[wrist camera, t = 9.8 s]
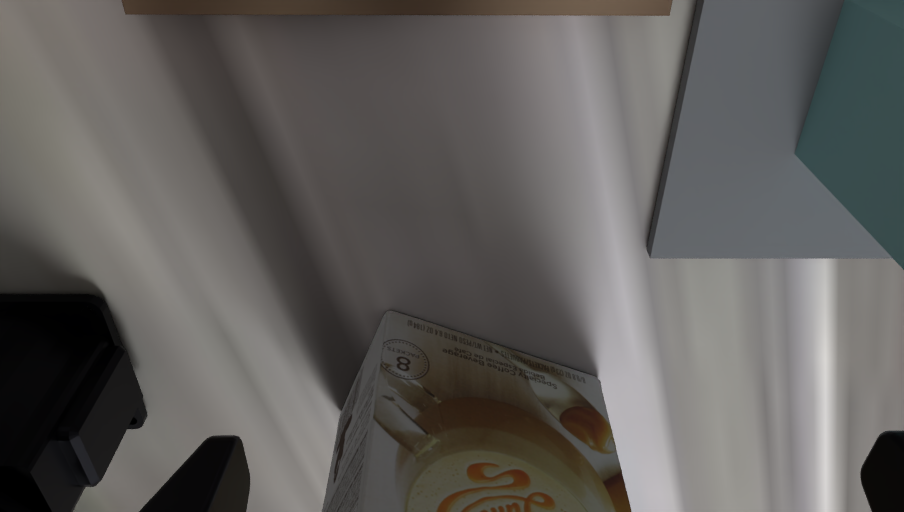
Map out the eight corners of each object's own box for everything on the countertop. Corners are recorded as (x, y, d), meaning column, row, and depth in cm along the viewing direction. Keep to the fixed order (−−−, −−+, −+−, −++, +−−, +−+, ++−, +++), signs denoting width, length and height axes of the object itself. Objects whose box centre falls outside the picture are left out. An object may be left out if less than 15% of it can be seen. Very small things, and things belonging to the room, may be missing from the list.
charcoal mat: (646, 249, 23) (650, 258, 22) (731, -170, 16) (739, -169, 16) (999, 249, 23) (1010, 258, 22) (1236, -168, 16) (1256, -167, 16)
